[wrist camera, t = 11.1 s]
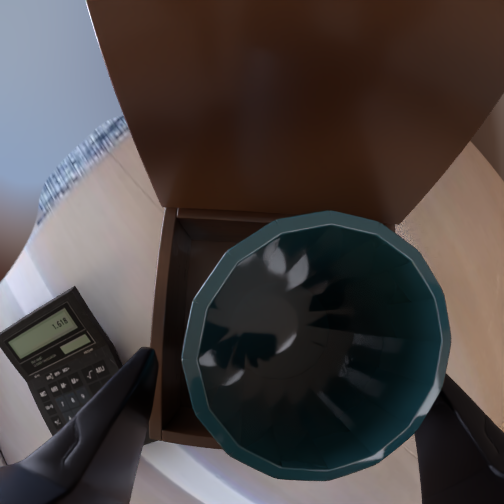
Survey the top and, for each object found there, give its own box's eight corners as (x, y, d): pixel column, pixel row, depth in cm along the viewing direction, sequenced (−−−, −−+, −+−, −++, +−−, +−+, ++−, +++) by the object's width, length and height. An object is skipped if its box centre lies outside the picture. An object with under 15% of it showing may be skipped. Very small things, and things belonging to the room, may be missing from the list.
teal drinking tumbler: (350, 341, 18) (479, 364, 6) (264, 402, 17) (289, 517, 5) (292, 256, 19) (358, 166, 7) (203, 315, 18) (128, 314, 6)
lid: (544, 24, 2) (481, -20, 4) (70, -58, 2) (131, -74, 4) (399, 225, 14) (386, 167, 16) (161, 207, 14) (176, 149, 16)
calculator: (73, 459, 16) (55, 472, 13) (15, 333, 18) (-8, 333, 15) (161, 435, 17) (149, 452, 14) (91, 289, 19) (69, 284, 16)
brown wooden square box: (352, 417, 17) (382, 443, 12) (172, 410, 17) (149, 438, 12) (362, 243, 20) (394, 221, 15) (184, 231, 20) (164, 204, 15)
